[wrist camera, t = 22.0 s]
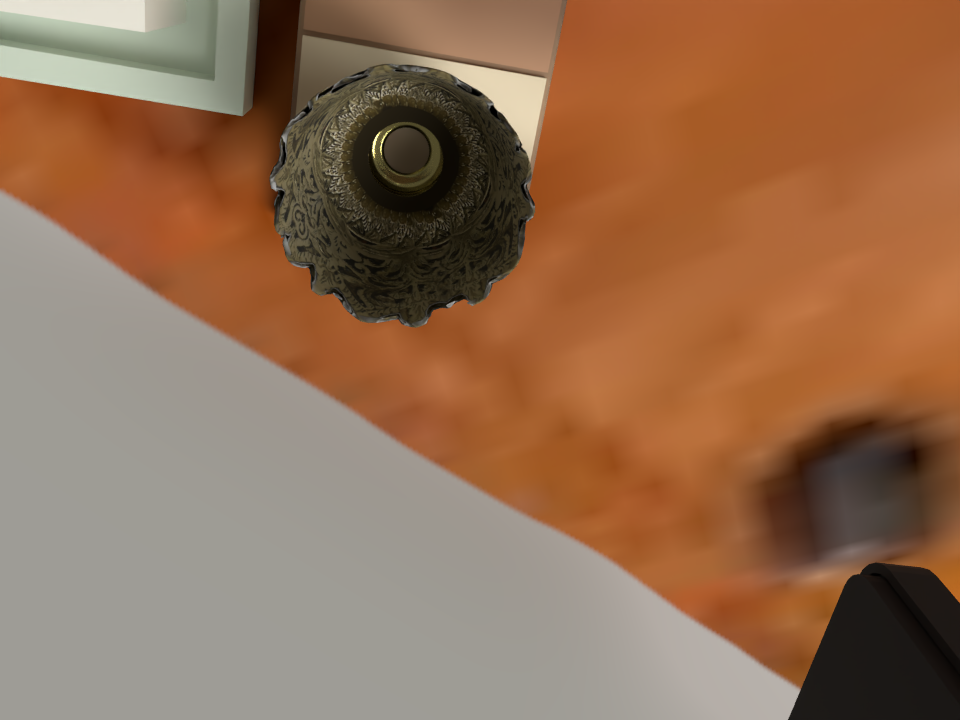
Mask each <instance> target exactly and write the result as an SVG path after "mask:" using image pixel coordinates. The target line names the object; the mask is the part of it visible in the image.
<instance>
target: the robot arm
mask: <svg viewBox="0 0 960 720" xmlns="http://www.w3.org/2000/svg"><path fill="white" fill-rule="evenodd" d="M788 720H960V603H959V602H958V601H957V599H956V598H955V597H954V596H953V595H952V594H951V592H950V591H949V590H948V589H947V588H946V587H945V585H944V584H943V583H942V582H941V581H940V580H939V578H938V577H937V576H936V575H935V574H934V573H932V572H931V571H930V570H928V569H925V568H921V567H912V566H903V565H894V564H885V563H872V564H869V565H868V566H866V567H865V568H864V569H863V570H862V572H861V573H860V574H857V575H853V576H852V577H850V578H849V579H848V581H847V582H846V584H845V586H844V588H843V591H842V593H841V595H840V598H839V600H838V603H837V605H836V607H835V610H834V612H833V614H832V617H831V619H830V622H829V624H828V626H827V629H826V631H825V633H824V636H823V638H822V641H821V643H820V645H819V648H818V650H817V653H816V655H815V657H814V660H813V662H812V664H811V667H810V669H809V672H808V674H807V676H806V679H805V681H804V683H803V686H802V688H801V691H800V693H799V695H798V698H797V700H796V702H795V705H794V708H793V710H792V712H791V715H790V717H789V719H788Z"/></svg>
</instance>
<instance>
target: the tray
mask: <svg viewBox="0 0 960 720" xmlns="http://www.w3.org/2000/svg"><path fill="white" fill-rule="evenodd" d="M259 6H260V0H186V23H183V24H178V25H174V26H170V27H166V28H161V29H157V30H153V31H149V32H138V31H132V30H125V29H118V28H111V27H105V26H98V25H91V24H84V23H78V22H71V21H64V20H57V19H50V18H44V17H37V16H30V15H23V14H17V13H10V12H3V11H0V76H2V77H8V78H14V79H20V80H26V81H32V82H38V83H44V84H50V85H56V86H63V87H69V88H75V89H81V90H87V91H93V92H99V93H105V94H111V95H117V96H123V97H129V98H135V99H141V100H147V101H154V102H160V103H166V104H172V105H178V106H184V107H190V108H196V109H202V110H208V111H214V112H220V113H226V114H232V115H238V116H243V115H244V114H246V113H247V112H248V111H249V110H250V109H252V107H253V93H254V79H255V64H256V50H257V35H258V21H259Z"/></svg>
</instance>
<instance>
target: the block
mask: <svg viewBox="0 0 960 720" xmlns="http://www.w3.org/2000/svg"><path fill="white" fill-rule="evenodd" d="M0 11H3V12H10V13H17V14H23V15H30V16H37V17H44V18H50V19H57V20H64V21H71V22H78V23H84V24H91V25H98V26H105V27H111V28H118V29H125V30H132V31H138V32H149V31H153V30H157V29H161V28H166V27H170V26H174V25H178V24H183V23H186V0H0Z"/></svg>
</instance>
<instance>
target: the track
mask: <svg viewBox="0 0 960 720" xmlns="http://www.w3.org/2000/svg"><path fill="white" fill-rule="evenodd" d="M566 3H567V0H300V12H299V24H298V35H297V47H296V58H295V70H294V82H293V93H292V105H291V116H290V121H291V120H292V119H293V118H294V117H295V116H296V115H297V114H298V113H299V112H300V111H302V110H303V109H304V107H306V106H307V103H308V101H309V100H310V99H311V98H312V97H313V96H315V95H316V94H317V93H318V92H320V91H322V90H323V89H325V88H326V87H330V86H332V85H334V84H336V83H338V82H339V81H340V80H341V79H343V78H345V77H349V76H351V75H354V74H356V73H358V72H361V71H364V70H366V69H367V68H369V67H372V66H376V65H381V64H395V65H416V66H423V67H429V68H434V69H438V70H441V71H445V72H447V73H449V74H451V75H453V76H455V77H457V78H458V79H459V80H461V81H463V82H465V83H466V84H468V85H470V86H472V87H473V88H475V89H477V90H479V91H480V92H482V93H483V94H484V95H485V96H487V97H488V98H489V99H490V100H491V101H492V102H493V103H494V106H495V108H496V109H497V110H498V111H499V112H501V113H502V114H503V115H504V117H505V118H506V119H507V121H508V122H509V124H510V125H511V126H512V128H513V129H514V130H515V131H516V133H517V135H518V137H519V139H520V141H521V143H522V148H523V149H524V150H525V151H526V153H527V155H528V158H529V161H530V164H531V171H532V174H533V169H534V164H535V159H536V154H537V149H538V144H539V139H540V134H541V129H542V124H543V119H544V114H545V109H546V104H547V99H548V94H549V88H550V83H551V78H552V73H553V68H554V63H555V58H556V53H557V48H558V43H559V38H560V33H561V28H562V23H563V18H564V13H565V8H566ZM384 154H385V158H386V160H387V162H388V164H389V165H390V166H391V167H392V168H393V169H395V170H396V171H398V172H401V173H413V172H416V171H418V170H420V169H421V168H422V167H423V166H424V165H425V163H426V162H427V160H428V157H429V146H428V143H427V140H426V139H425V137H424V136H423V135H422V134H421V133H420V132H418V131H417V130H415V129H411V128H401V129H398V130H396V131H394V132H393V133H391V134H390V135H389V137H388V138H387V140H386V142H385V146H384ZM531 179H532V178H531ZM530 184H531V180H530V182H529V183H528V184H527V189H528V191H529V189H530Z"/></svg>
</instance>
